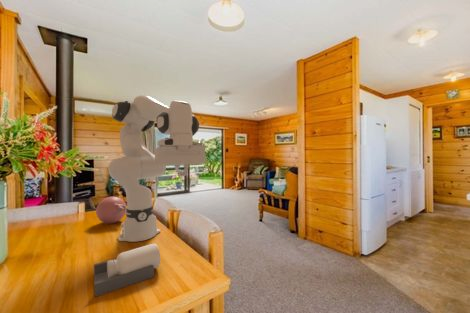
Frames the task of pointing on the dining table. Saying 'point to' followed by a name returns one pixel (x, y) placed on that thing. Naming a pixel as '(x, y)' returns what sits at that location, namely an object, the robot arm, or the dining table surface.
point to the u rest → (118, 278)
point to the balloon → (111, 209)
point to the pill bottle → (134, 260)
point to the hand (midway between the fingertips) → (181, 175)
